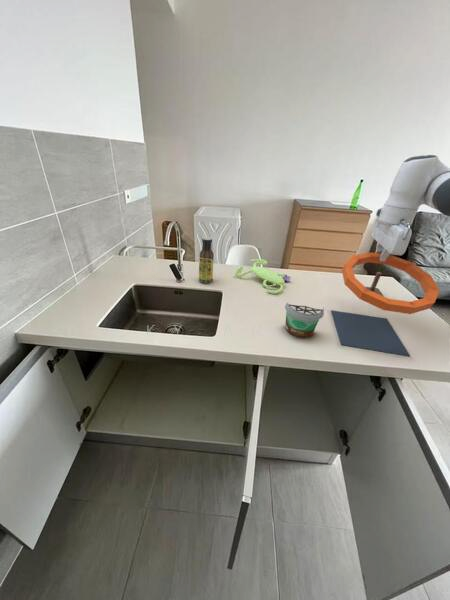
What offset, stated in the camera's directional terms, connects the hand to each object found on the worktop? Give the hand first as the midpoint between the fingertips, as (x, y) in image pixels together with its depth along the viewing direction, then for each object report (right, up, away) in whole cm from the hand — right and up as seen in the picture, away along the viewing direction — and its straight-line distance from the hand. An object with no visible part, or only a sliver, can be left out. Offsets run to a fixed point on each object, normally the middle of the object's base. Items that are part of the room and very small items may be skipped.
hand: (379, 258), depth 82 cm
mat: (-3, -25, +2) cm, 25 cm away
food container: (-28, -26, -1) cm, 38 cm away
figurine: (-34, -4, +33) cm, 48 cm away
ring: (-2, -9, -7) cm, 11 cm away
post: (+13, -11, +26) cm, 31 cm away
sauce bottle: (-61, -6, +29) cm, 67 cm away
